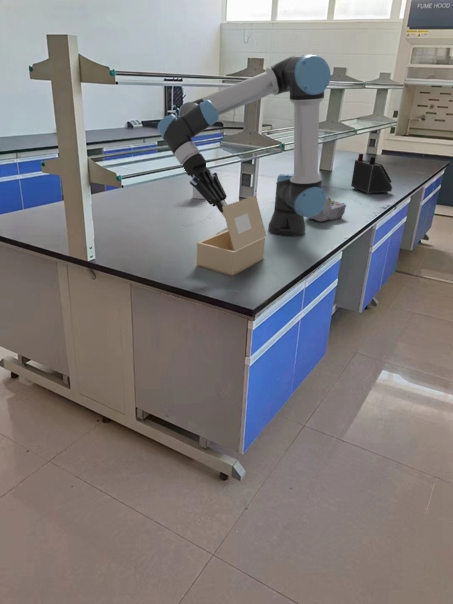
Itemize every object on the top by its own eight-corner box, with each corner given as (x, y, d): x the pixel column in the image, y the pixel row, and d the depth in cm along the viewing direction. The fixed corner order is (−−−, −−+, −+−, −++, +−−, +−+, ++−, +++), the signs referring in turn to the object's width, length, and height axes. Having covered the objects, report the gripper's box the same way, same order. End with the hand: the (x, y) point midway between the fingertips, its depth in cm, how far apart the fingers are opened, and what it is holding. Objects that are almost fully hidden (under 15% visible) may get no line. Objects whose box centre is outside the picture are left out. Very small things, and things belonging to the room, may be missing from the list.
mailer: (229, 250, 176) (230, 229, 172) (263, 259, 169) (265, 237, 165) (196, 265, 160) (197, 242, 157) (232, 276, 154) (233, 252, 150)
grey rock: (303, 194, 214) (325, 189, 228) (300, 218, 219) (322, 212, 233) (329, 200, 207) (350, 194, 221) (325, 225, 211) (347, 218, 225)
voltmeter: (391, 193, 276) (398, 157, 268) (367, 195, 270) (373, 158, 262) (373, 187, 290) (379, 153, 281) (350, 188, 284) (356, 153, 275)
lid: (254, 195, 162) (256, 195, 162) (265, 236, 165) (266, 236, 165) (221, 206, 147) (223, 206, 147) (234, 251, 150) (235, 251, 150)
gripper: (196, 164, 166) (234, 221, 166) (172, 169, 156) (212, 229, 156) (209, 150, 162) (249, 208, 161) (185, 154, 152) (227, 216, 151)
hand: (231, 219), depth 158 cm, fingers closed
